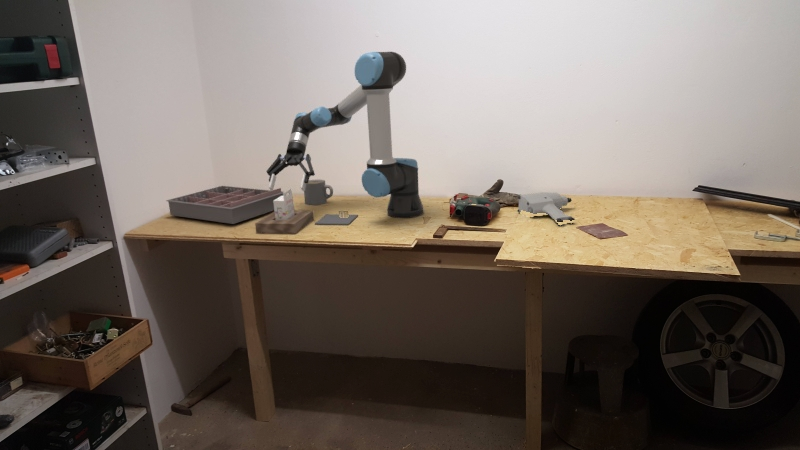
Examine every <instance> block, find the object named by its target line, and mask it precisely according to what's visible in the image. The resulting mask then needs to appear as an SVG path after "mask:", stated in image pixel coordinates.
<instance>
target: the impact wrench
mask: <svg viewBox="0 0 800 450" xmlns="http://www.w3.org/2000/svg"><path fill="white" fill-rule="evenodd" d="M571 202H572V198H571V197H567V196H566V195H561V194H560V193H558V192H538V193H537V192H534V193H526V194H519V196H518V208H517V213H519V212H521V210H523V211H526V212H530V213H533V214H537V213H546V214H549V215H548V216H550V217H551V219H552V220H553V219H555V220H557V222H563V220H570V221H572V220H576V219H575V218H574V217H573V216H571V215H567V214H566V213H564V210H563V209H562V207H565V206H567V205H568V203H571ZM560 208H561V210H560Z"/></svg>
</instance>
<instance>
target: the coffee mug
mask: <svg viewBox="0 0 800 450" xmlns="http://www.w3.org/2000/svg"><path fill="white" fill-rule="evenodd" d="M327 189H328V190H329V194H328V193H327ZM333 193H334V189H333V187H332V185H329V184H326V180H325V179H321V178H320V179H318V178H317V179H309V181H308V183H306V186H305V190H304V191H303V197H304V204H305V205H306V206H321V205H325V204H327V200H328V199H330V198H331V197H332V196H333V195H334V194H333Z"/></svg>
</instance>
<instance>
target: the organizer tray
mask: <svg viewBox="0 0 800 450" xmlns="http://www.w3.org/2000/svg"><path fill="white" fill-rule="evenodd" d="M284 192H285V191H282V187H278V188H275V189H273V191H271V190H270V189H269V190H268V189H258V188H249V187H238V186H229V185H228V186H226V185H219V186H216V187H212V188H209V189H204V190H201V191H197V192H196V191H195V192H193V193H189V194H185V195H182V196H178V197H175V198H170V199H167V200H165V201H166V202H168V206H169V213H170V216H176V217H181V218H188V219H196V220H203V221H209V222H210V221H211V222H217V223H224V224H229V225H230V224H231V225H236V224H238V223H240V222H244V221H246V220H250V219H252V218H253V219H254V218H255V217H258V216H261V215H264V214H268V213H271V212H272V211H273V212H274V203H273V201H274V200H275V199H277V198H279V197H280V196H283V193H284Z"/></svg>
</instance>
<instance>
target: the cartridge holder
mask: <svg viewBox="0 0 800 450" xmlns="http://www.w3.org/2000/svg"><path fill="white" fill-rule="evenodd" d="M294 215H295V216H293V217H292V218H290V219H289V220H276V219H275V211H274V210H273V212H272V213H271V212H270V213H269V214H268V215H266V216H265V217H263V218H262V219H260V220H258V221H257V222H255V223H254V226H255V233H256V234H261V235H262V234H264V235H265V234H266V235H268V234H270V235H275V234H276V235H277V234H278V235H296V234H298V233H299V232H301V230H303V229H304V228H306V227H307V226H308V225H309V224H310V223H312V222H313V221H314V210H303V209H302V210H299V209H296V210H295V209H294Z"/></svg>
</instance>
